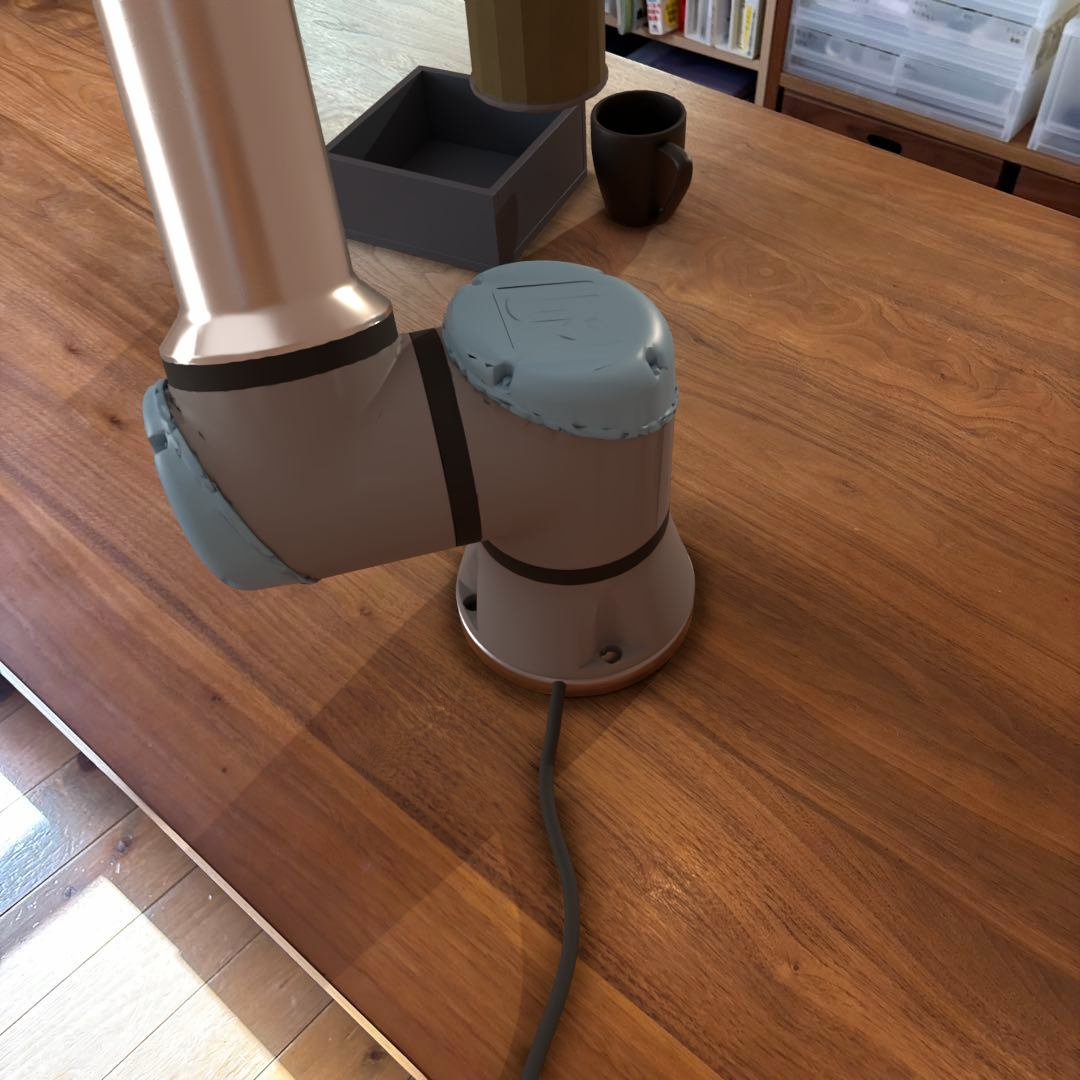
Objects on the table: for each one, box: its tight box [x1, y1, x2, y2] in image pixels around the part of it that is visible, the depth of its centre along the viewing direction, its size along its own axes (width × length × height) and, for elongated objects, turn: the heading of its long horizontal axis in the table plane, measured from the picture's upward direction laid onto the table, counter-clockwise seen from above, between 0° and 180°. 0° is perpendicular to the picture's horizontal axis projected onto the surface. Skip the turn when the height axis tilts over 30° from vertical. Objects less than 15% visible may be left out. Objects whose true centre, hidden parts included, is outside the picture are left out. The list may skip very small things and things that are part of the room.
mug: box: [589, 89, 694, 228], centre depth 97 cm, size 8×12×10 cm
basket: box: [325, 64, 588, 274], centre depth 101 cm, size 18×18×8 cm
